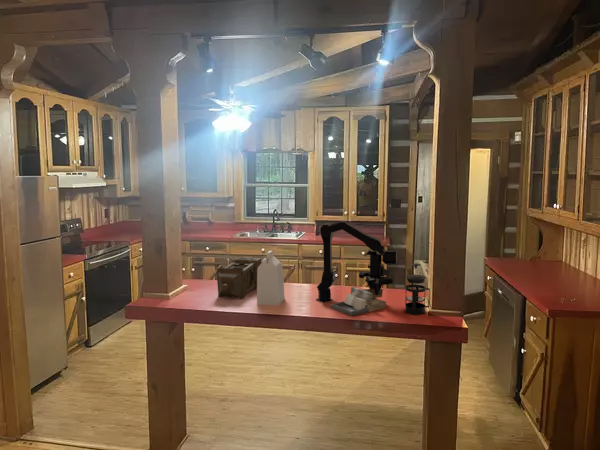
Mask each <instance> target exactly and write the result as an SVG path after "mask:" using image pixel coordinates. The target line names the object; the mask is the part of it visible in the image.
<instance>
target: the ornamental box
mask: <svg viewBox="0 0 600 450" xmlns="http://www.w3.org/2000/svg"><path fill="white" fill-rule="evenodd" d="M261 261H262V258H261V257H260V258H259V257H247V256H245V257H243V256H241V257H240V256H238V257H237V256H236V257H235V258H234V260H232V259H231V262H230V264H228V265H226V266H225V267H223V268H222V267H217V268H216V280H217V281H216V282H217V283H216V284H217V297H218V298H232V299H233V298H234V299H242V300H243V299H245V297H246V294H248V293H249V292H251V291H252V290H253V289H255V290H257V269H258V267H259V266H260V264H261V263H262V262H261Z"/></svg>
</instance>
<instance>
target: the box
mask: <svg viewBox="0 0 600 450" xmlns="http://www.w3.org/2000/svg"><path fill="white" fill-rule="evenodd" d="M344 301H345V300H343V301H339V302H334V303H331V309H333V310H335V311H338V312H340V313H343V314H344V315H347V316H349V317H354V316H358V315H362V314H366V313H369V312H368V308H363V309H359V310H357V309H355V308H354V307H352V306H350V305H347V304H345V303H344Z"/></svg>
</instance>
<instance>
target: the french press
mask: <svg viewBox="0 0 600 450" xmlns="http://www.w3.org/2000/svg"><path fill="white" fill-rule="evenodd" d="M410 265H411V266H412V267H414V269H415V273H414V274H407V275H405V278H406V279H407V282H408V283H410V284H408V285H406V286H405V293H408V292H410V293H412V294H411V295H410V296H406V297H405V301H404V302H405V309H404V313H406V314H407V315H408V314H409V315H410V316H411V315H412V316H422V315H425V314H426V308H430V300H431V299H430V293H431V291H430V290H431V289H430V287H426V286H424V285H421V284H423V283H425V282H426V281H425V279H426V276H425V275H421V274H417V268H418V267H419V266H421V264H420V263H411V264H410ZM419 288H420V289H419ZM426 290H428V298H427V299H428V302H427V303H428V305H426V293H425V292H426ZM423 292H424V297H422V296H419V293H423Z"/></svg>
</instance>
